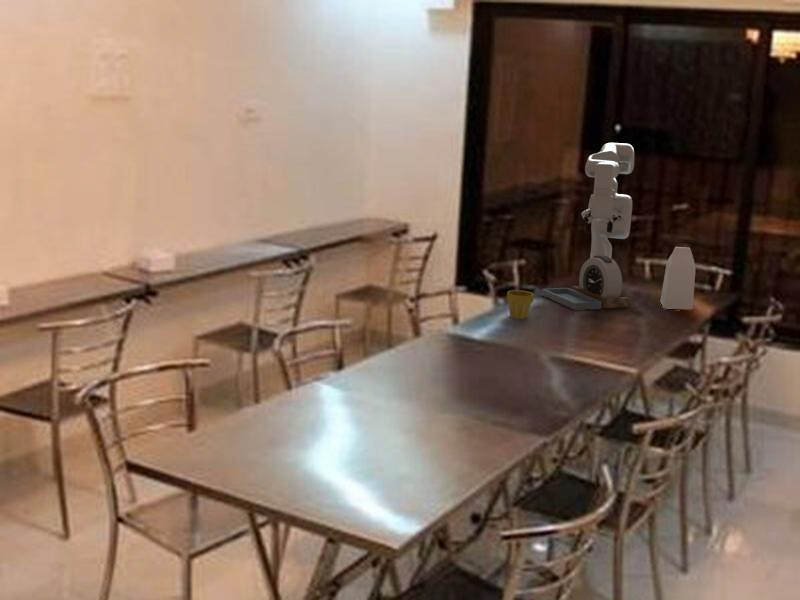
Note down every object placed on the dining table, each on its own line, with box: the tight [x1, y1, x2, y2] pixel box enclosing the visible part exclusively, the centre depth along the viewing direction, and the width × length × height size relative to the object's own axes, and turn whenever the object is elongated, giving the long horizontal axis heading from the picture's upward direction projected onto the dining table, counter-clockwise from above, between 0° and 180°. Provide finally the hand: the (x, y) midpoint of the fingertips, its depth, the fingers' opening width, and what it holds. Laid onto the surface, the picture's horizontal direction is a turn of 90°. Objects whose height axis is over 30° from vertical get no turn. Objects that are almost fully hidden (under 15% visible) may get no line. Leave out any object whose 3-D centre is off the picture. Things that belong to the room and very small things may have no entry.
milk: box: [659, 246, 696, 310], centre depth 454 cm, size 12×12×26 cm
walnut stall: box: [571, 285, 629, 309], centre depth 461 cm, size 12×25×4 cm, turn 23°
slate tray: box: [541, 287, 602, 311], centre depth 455 cm, size 13×27×3 cm, turn 23°
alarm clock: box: [578, 255, 623, 298], centre depth 459 cm, size 21×8×20 cm, turn 25°
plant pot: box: [506, 289, 534, 320], centre depth 424 cm, size 10×10×10 cm
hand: (598, 232), depth 454 cm, fingers open, 9 cm apart
